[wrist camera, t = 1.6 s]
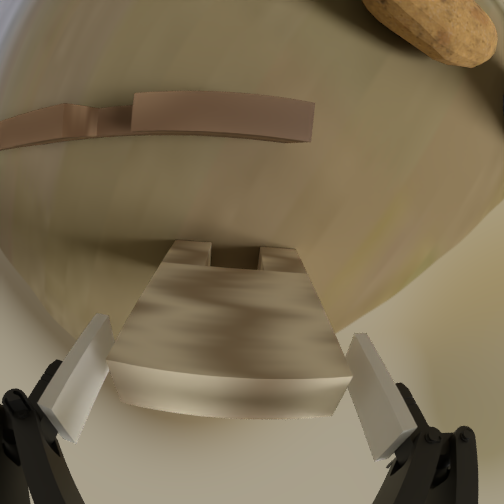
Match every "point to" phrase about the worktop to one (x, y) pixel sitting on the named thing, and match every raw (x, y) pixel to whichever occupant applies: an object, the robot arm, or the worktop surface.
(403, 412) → the robot arm
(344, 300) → the worktop surface
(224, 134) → the walnut board
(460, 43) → the potato
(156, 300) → the birch plate
